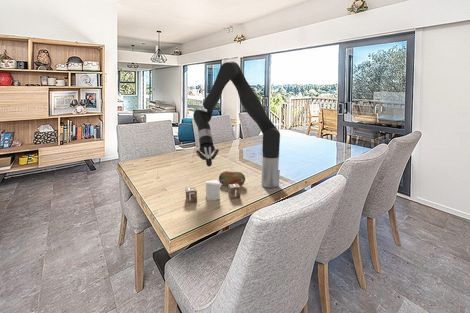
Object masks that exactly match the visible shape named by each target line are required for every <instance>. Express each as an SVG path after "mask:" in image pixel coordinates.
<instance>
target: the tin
mask: <svg viewBox="0 0 470 313" xmlns="http://www.w3.org/2000/svg"><path fill="white" fill-rule="evenodd" d="M218 180H219V181H218V182H219V184H221V185H222V186H224V187H228V184H238V185H239V186H240V187H242V186H243V185H244V183H245V182H246V176H245V175H244V174H243V173H242V172H240V171H231V170H230V171H229V170H227V171H226V170H225V171H223V172H221V173H219V176H218Z"/></svg>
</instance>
